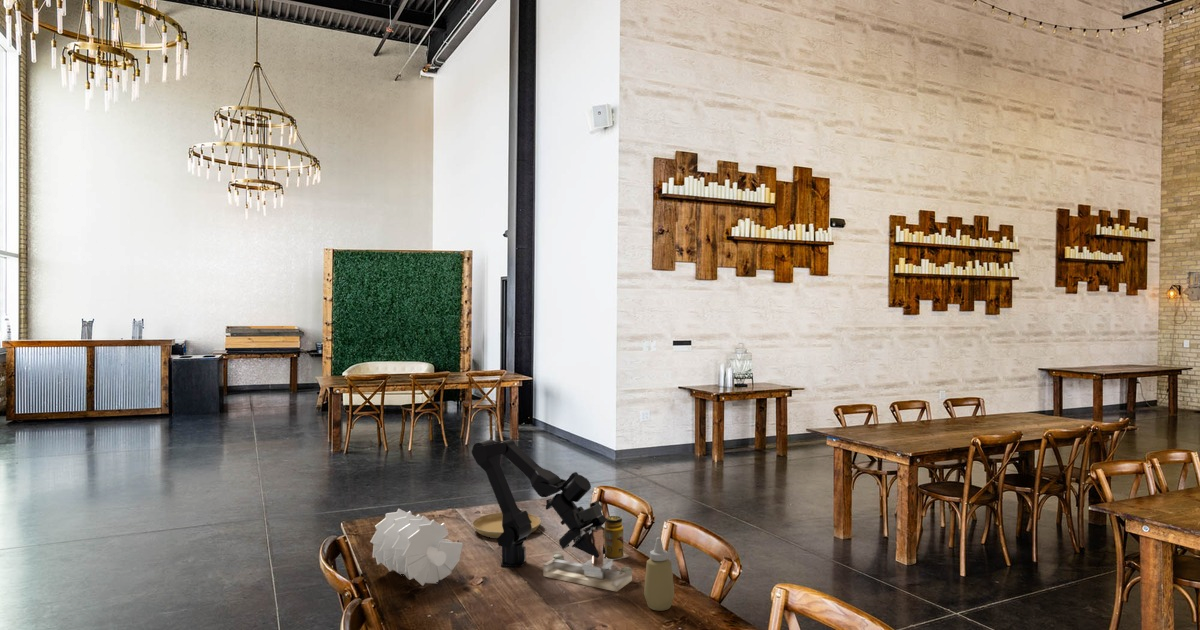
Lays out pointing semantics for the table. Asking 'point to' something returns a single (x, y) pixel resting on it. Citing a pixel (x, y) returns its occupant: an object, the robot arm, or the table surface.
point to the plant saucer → (498, 524)
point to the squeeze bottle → (659, 579)
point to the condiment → (613, 538)
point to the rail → (576, 575)
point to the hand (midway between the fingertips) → (601, 555)
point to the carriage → (597, 565)
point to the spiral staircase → (415, 547)
